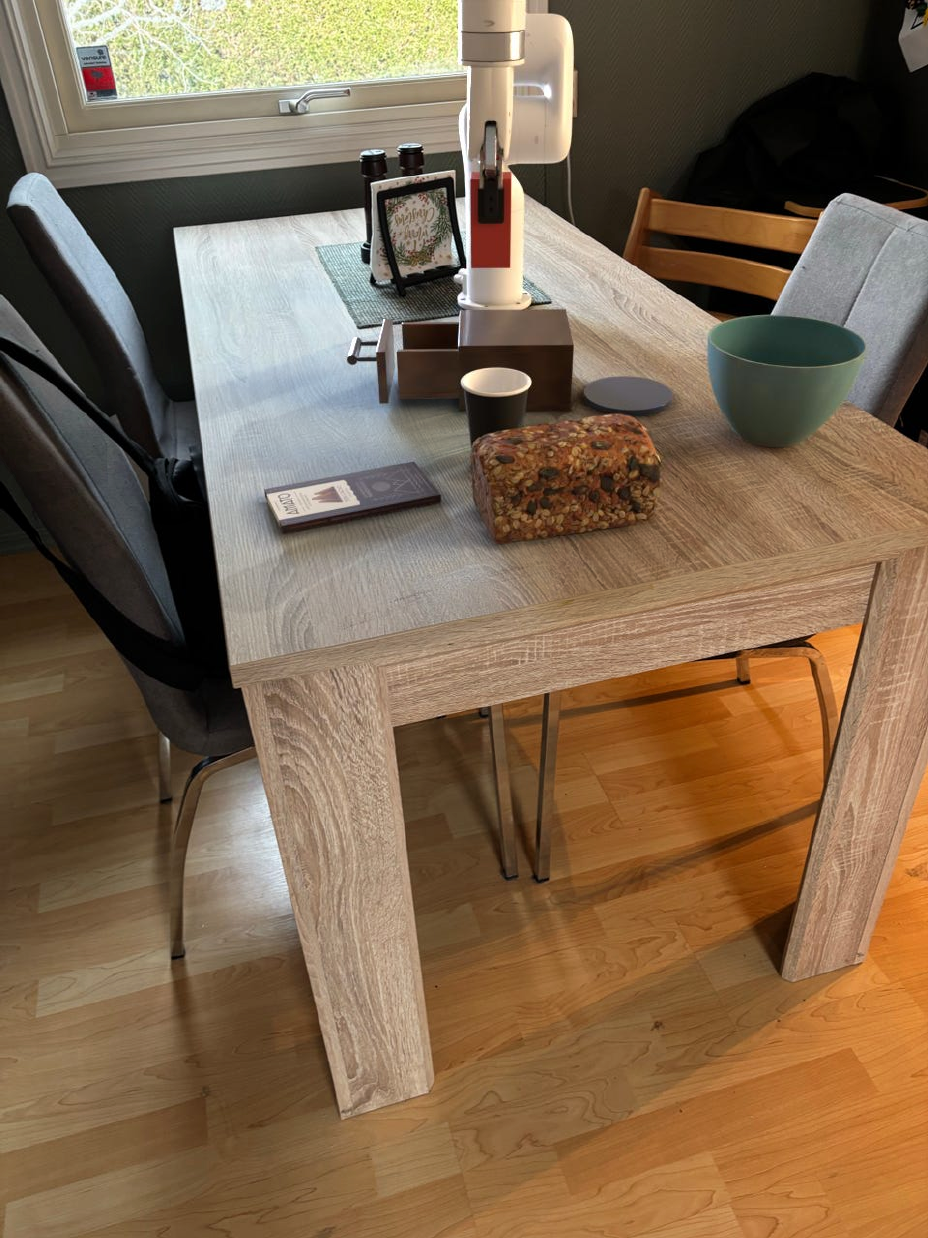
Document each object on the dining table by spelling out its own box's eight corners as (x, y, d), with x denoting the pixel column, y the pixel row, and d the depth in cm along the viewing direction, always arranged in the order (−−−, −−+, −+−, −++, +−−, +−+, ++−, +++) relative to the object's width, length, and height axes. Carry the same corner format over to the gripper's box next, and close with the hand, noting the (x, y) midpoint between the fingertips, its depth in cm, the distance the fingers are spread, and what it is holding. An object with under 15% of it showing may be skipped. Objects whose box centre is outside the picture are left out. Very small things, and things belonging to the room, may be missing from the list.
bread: (624, 482, 113) (631, 401, 107) (659, 527, 104) (670, 441, 99) (467, 501, 110) (466, 418, 104) (491, 549, 101) (491, 461, 95)
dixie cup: (536, 479, 114) (539, 389, 107) (470, 487, 112) (469, 396, 106) (518, 450, 120) (520, 364, 114) (455, 457, 119) (454, 370, 112)
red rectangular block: (470, 267, 123) (470, 178, 117) (471, 259, 127) (471, 171, 121) (510, 267, 123) (511, 178, 117) (510, 259, 127) (511, 171, 120)
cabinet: (459, 411, 130) (458, 345, 125) (461, 371, 142) (460, 309, 137) (570, 410, 130) (574, 344, 125) (562, 370, 142) (565, 308, 136)
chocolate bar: (440, 494, 109) (281, 525, 104) (441, 501, 109) (283, 533, 104) (414, 461, 116) (263, 489, 110) (414, 468, 116) (265, 496, 111)
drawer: (347, 404, 130) (342, 352, 126) (357, 367, 141) (353, 318, 137) (481, 403, 130) (481, 351, 126) (480, 366, 141) (480, 317, 137)
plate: (565, 398, 133) (565, 392, 133) (620, 374, 140) (620, 369, 140) (635, 423, 126) (636, 418, 126) (690, 397, 133) (690, 392, 133)
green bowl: (762, 478, 113) (781, 377, 106) (666, 422, 126) (677, 328, 119) (876, 446, 120) (901, 348, 113) (774, 395, 133) (790, 305, 126)
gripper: (461, 42, 118) (463, 202, 129) (455, 57, 105) (458, 235, 115) (523, 41, 118) (520, 202, 128) (526, 56, 104) (522, 235, 115)
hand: (491, 216), depth 122 cm, fingers closed on red rectangular block, 4 cm apart
